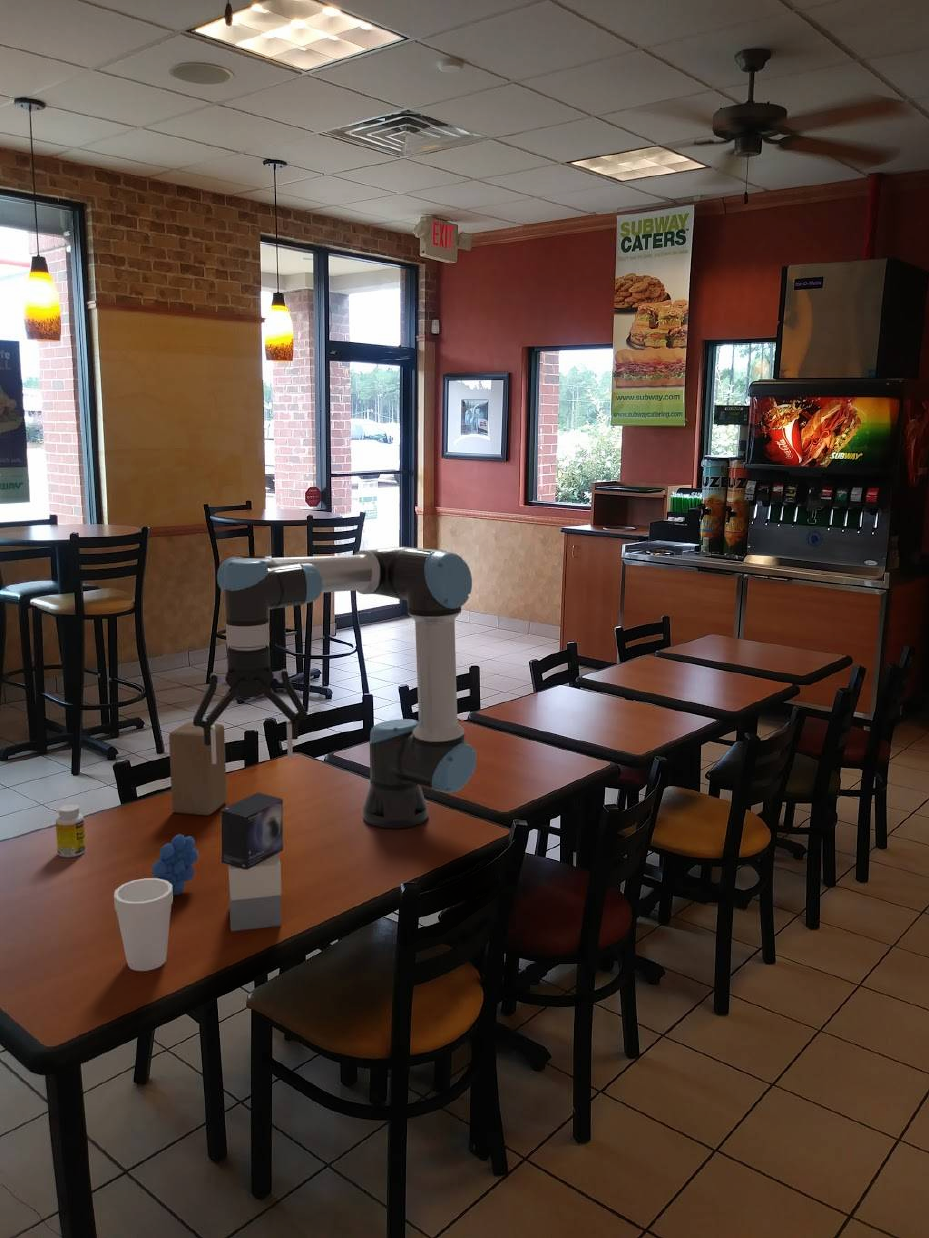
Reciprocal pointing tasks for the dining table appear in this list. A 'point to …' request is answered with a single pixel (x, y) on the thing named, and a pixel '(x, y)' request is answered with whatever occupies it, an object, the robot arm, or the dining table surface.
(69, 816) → the supplement bottle
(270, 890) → the tower top
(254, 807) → the small box
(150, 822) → the dining table surface
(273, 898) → the tower base
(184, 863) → the grapes
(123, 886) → the foam cup
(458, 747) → the robot arm
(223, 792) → the block
